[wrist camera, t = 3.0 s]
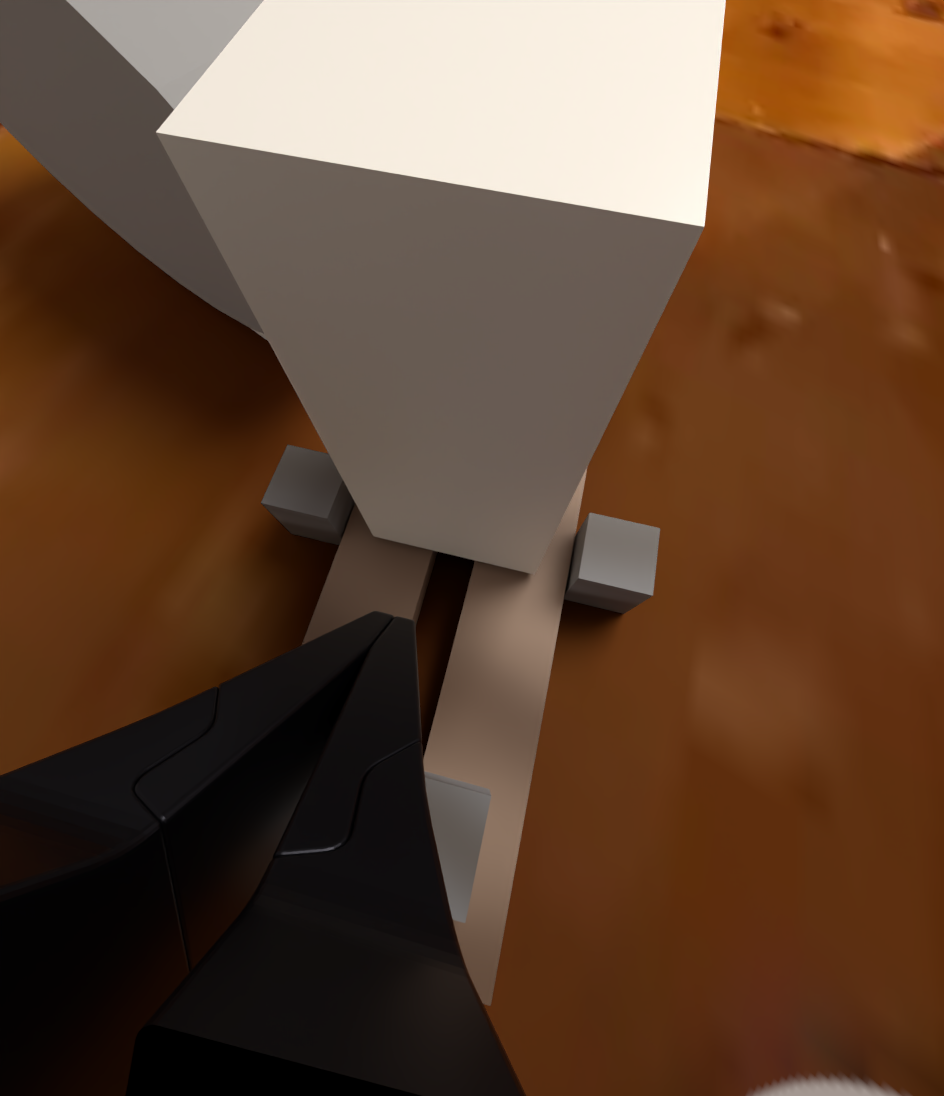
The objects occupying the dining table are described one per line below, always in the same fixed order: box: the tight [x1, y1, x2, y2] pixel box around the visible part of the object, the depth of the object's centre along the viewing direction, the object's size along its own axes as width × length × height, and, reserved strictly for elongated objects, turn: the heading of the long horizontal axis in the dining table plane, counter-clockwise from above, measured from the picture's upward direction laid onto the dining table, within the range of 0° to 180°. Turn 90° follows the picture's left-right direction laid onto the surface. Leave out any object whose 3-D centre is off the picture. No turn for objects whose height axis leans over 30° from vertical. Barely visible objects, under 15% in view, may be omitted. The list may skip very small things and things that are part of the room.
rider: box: [156, 0, 726, 575], centre depth 12 cm, size 6×6×13 cm
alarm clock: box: [0, 0, 268, 341], centre depth 17 cm, size 23×6×13 cm, turn 51°
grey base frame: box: [261, 445, 660, 1006], centre depth 16 cm, size 26×13×3 cm, turn 166°
